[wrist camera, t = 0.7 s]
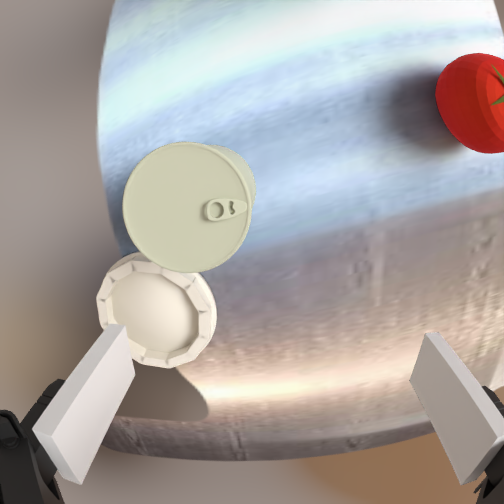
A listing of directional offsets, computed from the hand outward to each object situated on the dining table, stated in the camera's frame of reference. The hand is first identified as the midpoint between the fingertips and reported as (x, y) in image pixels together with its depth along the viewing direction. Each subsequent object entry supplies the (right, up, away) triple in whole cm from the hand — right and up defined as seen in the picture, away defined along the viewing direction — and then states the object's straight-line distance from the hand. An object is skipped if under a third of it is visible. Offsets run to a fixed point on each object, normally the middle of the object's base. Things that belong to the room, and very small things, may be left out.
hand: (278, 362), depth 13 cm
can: (-5, +11, +19) cm, 23 cm away
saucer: (-12, -2, +23) cm, 27 cm away
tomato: (+22, +21, +15) cm, 35 cm away
